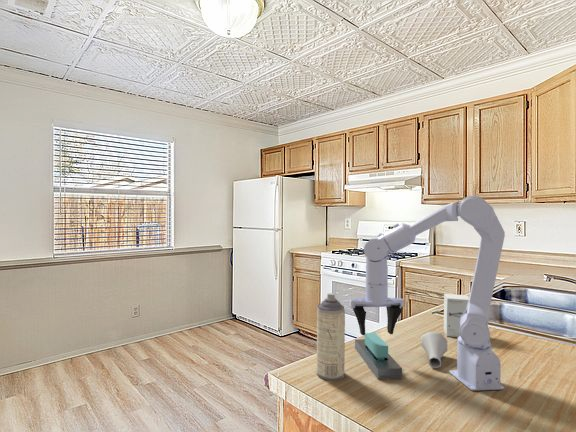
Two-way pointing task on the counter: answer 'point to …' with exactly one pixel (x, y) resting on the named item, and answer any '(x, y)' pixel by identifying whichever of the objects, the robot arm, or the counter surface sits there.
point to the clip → (376, 346)
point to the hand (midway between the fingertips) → (376, 333)
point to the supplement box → (453, 313)
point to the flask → (434, 347)
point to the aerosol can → (330, 339)
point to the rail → (379, 363)
